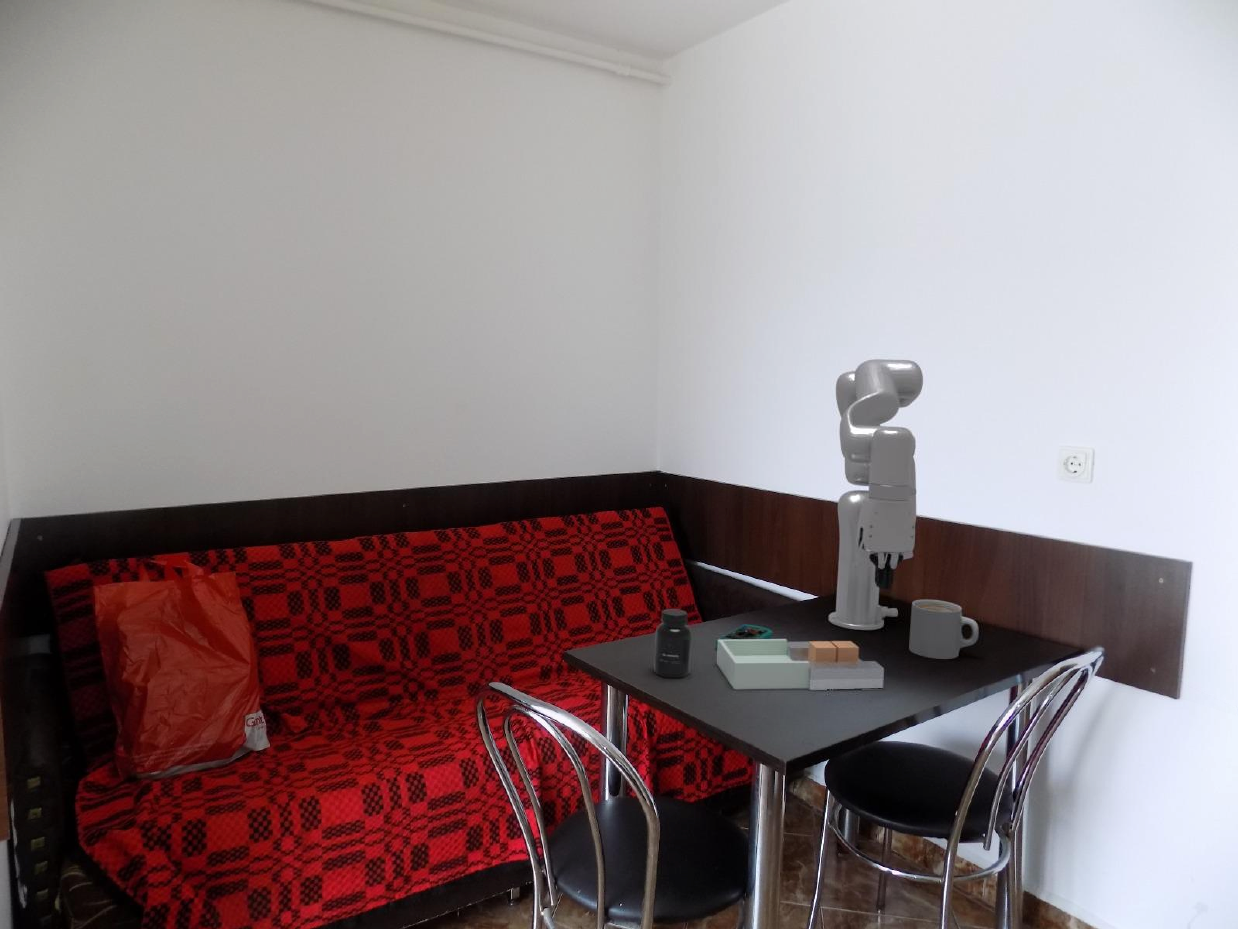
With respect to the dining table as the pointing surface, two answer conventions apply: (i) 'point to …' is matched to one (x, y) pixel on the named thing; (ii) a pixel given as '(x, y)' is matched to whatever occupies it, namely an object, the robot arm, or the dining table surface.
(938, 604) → the coffee mug
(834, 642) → the chip
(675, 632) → the supplement bottle
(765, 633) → the digital multimeter
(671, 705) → the dining table surface
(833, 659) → the chip
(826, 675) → the slotted block
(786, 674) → the tray
